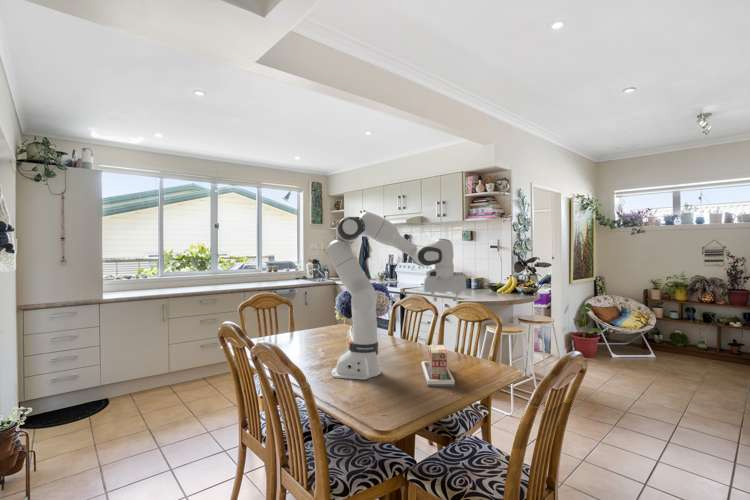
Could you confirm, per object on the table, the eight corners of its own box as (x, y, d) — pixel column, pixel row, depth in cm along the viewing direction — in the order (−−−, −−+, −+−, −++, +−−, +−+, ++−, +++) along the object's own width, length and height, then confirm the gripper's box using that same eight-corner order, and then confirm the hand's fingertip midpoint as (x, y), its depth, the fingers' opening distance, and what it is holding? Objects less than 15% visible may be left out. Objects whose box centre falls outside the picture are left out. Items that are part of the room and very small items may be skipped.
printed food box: (428, 365, 175) (428, 339, 175) (441, 365, 175) (441, 339, 175) (431, 381, 154) (431, 352, 154) (446, 381, 153) (446, 352, 153)
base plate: (427, 386, 151) (427, 380, 151) (421, 366, 177) (421, 361, 177) (454, 386, 151) (454, 380, 151) (444, 366, 177) (444, 361, 177)
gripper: (464, 271, 180) (465, 299, 180) (422, 272, 181) (423, 300, 181) (467, 272, 174) (468, 301, 174) (424, 273, 174) (424, 302, 174)
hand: (444, 301), depth 177 cm, fingers open, 8 cm apart
